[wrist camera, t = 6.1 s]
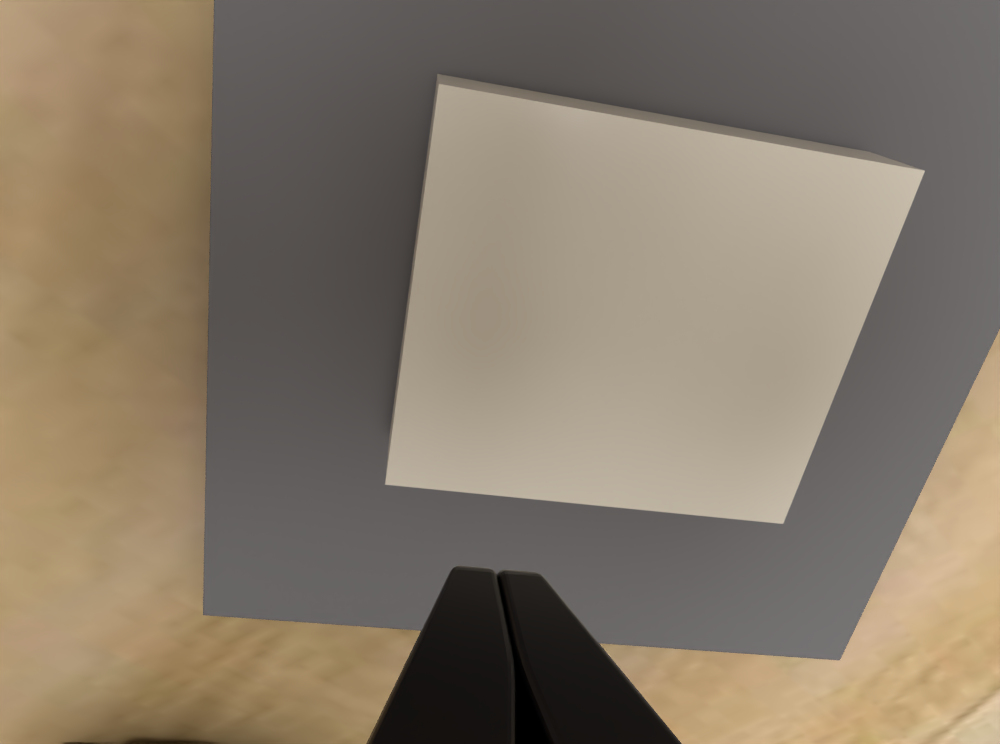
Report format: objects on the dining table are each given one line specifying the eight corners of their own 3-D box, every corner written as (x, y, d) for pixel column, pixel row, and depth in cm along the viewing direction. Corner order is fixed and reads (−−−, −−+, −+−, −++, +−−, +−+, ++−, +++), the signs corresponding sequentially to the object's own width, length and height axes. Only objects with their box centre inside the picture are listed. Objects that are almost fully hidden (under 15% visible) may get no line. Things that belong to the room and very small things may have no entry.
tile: (389, 432, 18) (747, 471, 19) (385, 484, 16) (782, 524, 17) (437, 73, 15) (865, 150, 16) (438, 83, 13) (925, 171, 14)
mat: (830, 644, 23) (839, 660, 23) (209, 598, 20) (203, 615, 20) (1193, -129, 15) (1222, -133, 14) (230, -378, 12) (221, -395, 12)
